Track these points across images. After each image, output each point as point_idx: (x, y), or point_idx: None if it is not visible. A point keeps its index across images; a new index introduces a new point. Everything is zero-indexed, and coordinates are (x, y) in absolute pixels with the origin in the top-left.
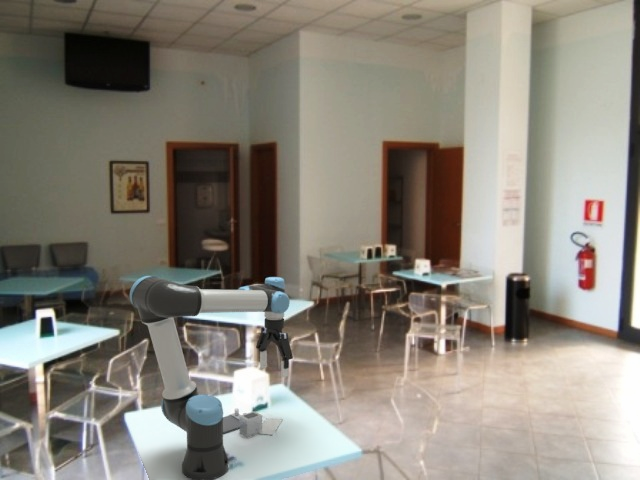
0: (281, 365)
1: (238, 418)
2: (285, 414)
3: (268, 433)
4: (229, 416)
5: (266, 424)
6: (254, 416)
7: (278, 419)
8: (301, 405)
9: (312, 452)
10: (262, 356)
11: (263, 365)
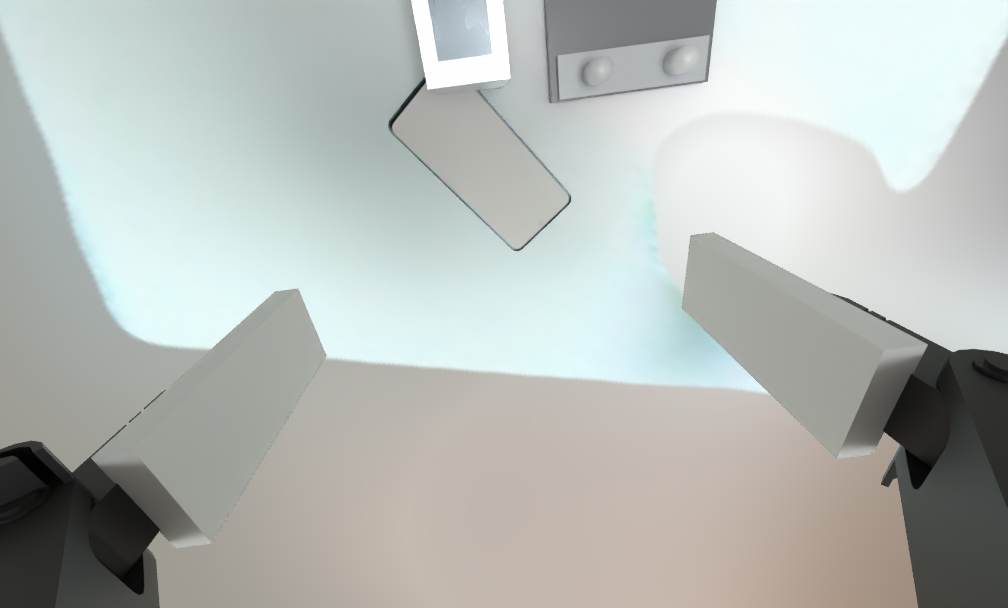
0: (205, 375)
1: (632, 49)
2: (556, 286)
3: (414, 117)
4: (699, 25)
5: (510, 163)
6: (431, 27)
7: (526, 236)
8: (589, 372)
9: (152, 192)
10: (796, 325)
11: (703, 279)
